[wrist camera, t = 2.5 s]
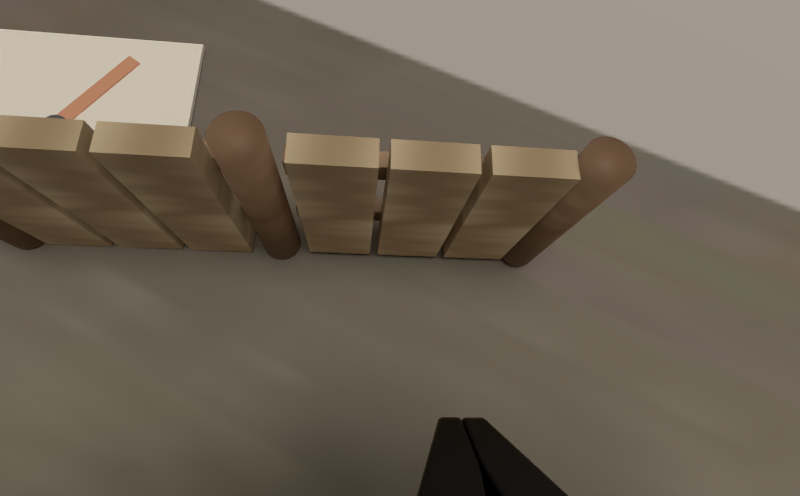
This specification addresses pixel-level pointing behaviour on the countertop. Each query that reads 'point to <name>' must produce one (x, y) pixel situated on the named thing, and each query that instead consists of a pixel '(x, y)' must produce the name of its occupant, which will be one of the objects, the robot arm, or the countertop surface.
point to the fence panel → (447, 194)
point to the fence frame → (142, 185)
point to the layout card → (98, 78)
